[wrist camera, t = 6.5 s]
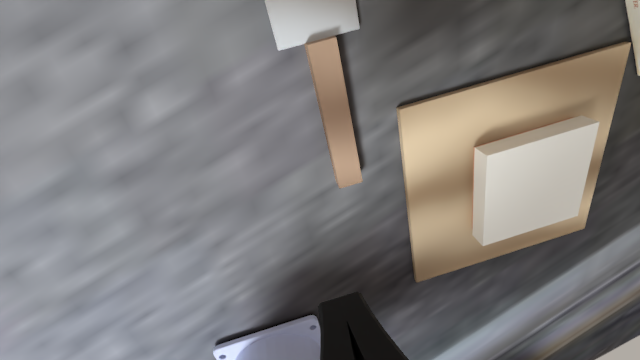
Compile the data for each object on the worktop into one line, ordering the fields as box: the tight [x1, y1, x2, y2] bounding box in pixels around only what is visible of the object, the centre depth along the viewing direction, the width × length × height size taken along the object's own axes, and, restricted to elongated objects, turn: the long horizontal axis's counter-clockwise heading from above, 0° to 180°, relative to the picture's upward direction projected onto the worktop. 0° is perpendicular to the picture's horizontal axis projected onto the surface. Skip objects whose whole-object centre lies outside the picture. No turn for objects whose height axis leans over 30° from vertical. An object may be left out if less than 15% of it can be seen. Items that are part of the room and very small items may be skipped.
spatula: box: [265, 0, 363, 188], centre depth 16 cm, size 13×4×1 cm, turn 13°
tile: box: [472, 115, 600, 246], centre depth 22 cm, size 7×2×7 cm
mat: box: [397, 42, 631, 282], centre depth 22 cm, size 14×14×1 cm
